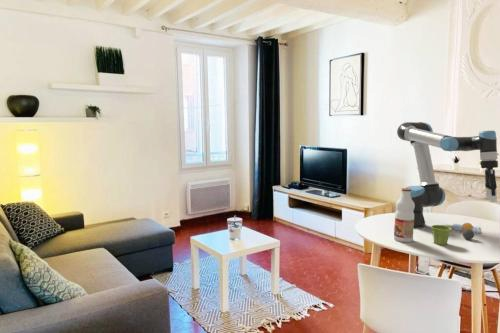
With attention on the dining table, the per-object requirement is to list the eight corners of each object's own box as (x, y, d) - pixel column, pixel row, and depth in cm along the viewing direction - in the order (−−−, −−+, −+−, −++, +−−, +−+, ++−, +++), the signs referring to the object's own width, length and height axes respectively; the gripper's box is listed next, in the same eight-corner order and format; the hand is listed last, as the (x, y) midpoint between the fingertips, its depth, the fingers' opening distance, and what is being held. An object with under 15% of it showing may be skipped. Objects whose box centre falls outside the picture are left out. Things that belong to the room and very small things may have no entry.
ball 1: (465, 233, 211) (466, 224, 210) (459, 231, 216) (460, 221, 215) (474, 233, 211) (475, 224, 210) (468, 230, 216) (469, 221, 216)
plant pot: (441, 247, 188) (442, 230, 187) (426, 241, 196) (427, 225, 195) (454, 245, 191) (455, 228, 190) (438, 239, 200) (440, 224, 199)
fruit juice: (412, 243, 193) (416, 190, 189) (393, 241, 196) (396, 189, 193) (412, 238, 201) (416, 187, 198) (394, 236, 205) (397, 186, 201)
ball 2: (466, 240, 198) (466, 230, 198) (459, 237, 204) (460, 227, 203) (475, 240, 199) (476, 230, 198) (469, 237, 204) (470, 227, 204)
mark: (481, 233, 212) (481, 233, 212) (453, 229, 219) (453, 229, 219) (479, 227, 224) (479, 227, 224) (453, 223, 231) (453, 223, 231)
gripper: (501, 159, 181) (504, 203, 180) (493, 160, 203) (496, 199, 203) (483, 160, 184) (486, 203, 183) (477, 161, 206) (480, 199, 206)
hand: (491, 201), depth 193 cm, fingers open, 13 cm apart
